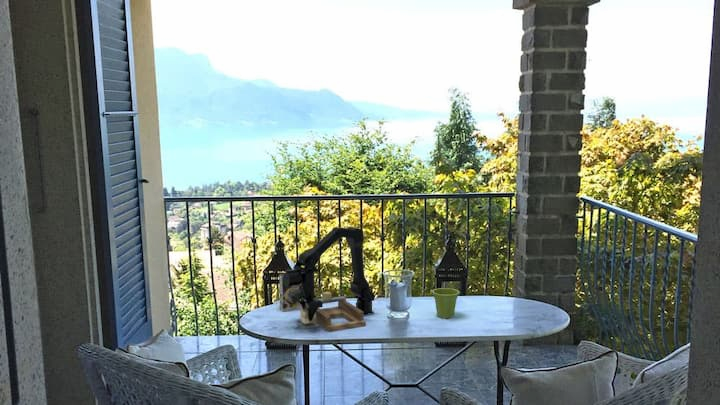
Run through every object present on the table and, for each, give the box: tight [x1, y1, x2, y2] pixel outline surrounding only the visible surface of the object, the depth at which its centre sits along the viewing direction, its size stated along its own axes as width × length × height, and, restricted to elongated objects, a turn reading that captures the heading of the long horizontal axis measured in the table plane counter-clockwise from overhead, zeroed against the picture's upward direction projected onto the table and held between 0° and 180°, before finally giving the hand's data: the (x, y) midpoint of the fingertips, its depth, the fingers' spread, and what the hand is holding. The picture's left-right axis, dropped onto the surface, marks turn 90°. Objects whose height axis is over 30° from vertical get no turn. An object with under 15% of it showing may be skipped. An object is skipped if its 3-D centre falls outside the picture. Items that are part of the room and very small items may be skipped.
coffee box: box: [279, 273, 302, 312], centre depth 271 cm, size 9×6×16 cm
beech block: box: [299, 308, 317, 324], centre depth 248 cm, size 5×5×5 cm
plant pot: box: [431, 287, 460, 319], centre depth 260 cm, size 12×12×11 cm
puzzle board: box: [316, 300, 367, 333], centre depth 255 cm, size 17×24×6 cm
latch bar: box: [318, 291, 347, 304], centre depth 262 cm, size 17×3×4 cm, turn 116°
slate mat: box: [296, 321, 321, 330], centre depth 249 cm, size 8×8×1 cm
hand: (308, 319), depth 249 cm, fingers closed on beech block, 5 cm apart
